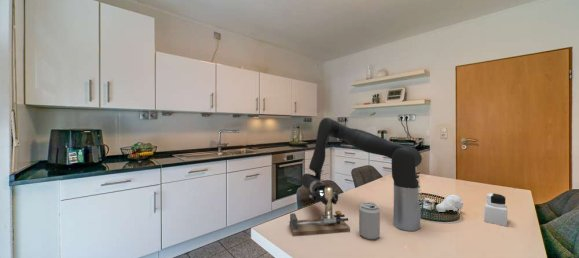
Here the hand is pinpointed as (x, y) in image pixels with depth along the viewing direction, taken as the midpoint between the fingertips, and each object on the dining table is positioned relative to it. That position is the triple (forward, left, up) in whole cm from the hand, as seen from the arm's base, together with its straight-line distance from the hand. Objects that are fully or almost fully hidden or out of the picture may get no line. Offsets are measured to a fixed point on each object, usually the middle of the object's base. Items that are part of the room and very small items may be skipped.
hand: (330, 202), depth 89 cm
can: (-13, +6, -12) cm, 19 cm away
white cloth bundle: (-62, -9, -12) cm, 64 cm away
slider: (-3, -3, -9) cm, 10 cm away
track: (+4, -3, -12) cm, 13 cm away
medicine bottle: (-74, +3, -12) cm, 75 cm away
